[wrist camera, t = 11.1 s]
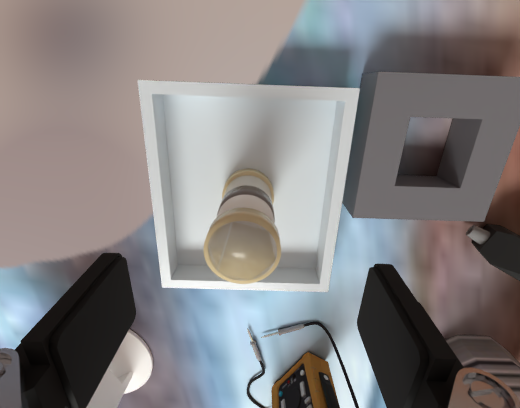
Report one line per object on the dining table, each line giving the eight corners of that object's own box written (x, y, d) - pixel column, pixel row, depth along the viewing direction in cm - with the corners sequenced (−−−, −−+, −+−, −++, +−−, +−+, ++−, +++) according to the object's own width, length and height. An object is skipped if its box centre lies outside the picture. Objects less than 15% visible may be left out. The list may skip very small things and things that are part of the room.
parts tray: (154, 80, 21) (137, 79, 18) (346, 88, 21) (359, 88, 18) (172, 266, 27) (162, 287, 24) (321, 270, 27) (327, 292, 24)
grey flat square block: (362, 73, 20) (378, 71, 18) (499, 79, 21) (537, 77, 18) (342, 202, 24) (352, 217, 21) (458, 206, 24) (484, 221, 22)
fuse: (223, 167, 22) (201, 215, 14) (274, 169, 22) (283, 218, 14) (224, 214, 24) (205, 282, 15) (272, 215, 24) (278, 284, 15)
